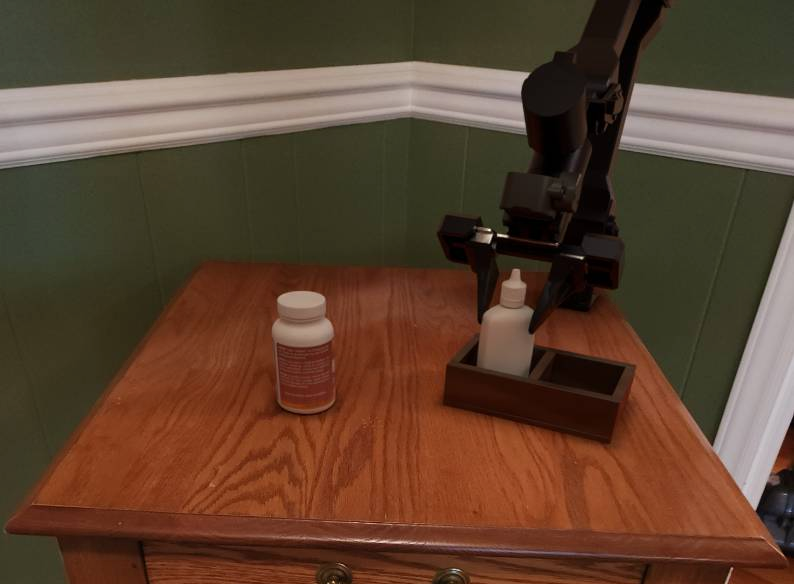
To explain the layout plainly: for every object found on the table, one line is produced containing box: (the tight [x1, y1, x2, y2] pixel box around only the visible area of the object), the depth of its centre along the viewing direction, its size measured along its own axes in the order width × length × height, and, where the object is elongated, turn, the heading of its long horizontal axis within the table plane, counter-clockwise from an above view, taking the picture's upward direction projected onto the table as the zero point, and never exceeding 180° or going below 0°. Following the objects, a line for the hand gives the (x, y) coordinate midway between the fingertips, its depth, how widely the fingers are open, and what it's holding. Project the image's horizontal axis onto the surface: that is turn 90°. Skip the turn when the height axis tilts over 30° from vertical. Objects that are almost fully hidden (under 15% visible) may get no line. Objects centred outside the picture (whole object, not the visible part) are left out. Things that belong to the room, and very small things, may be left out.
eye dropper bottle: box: [476, 268, 536, 378], centre depth 75 cm, size 4×6×12 cm
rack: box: [442, 332, 637, 444], centre depth 77 cm, size 9×18×5 cm, turn 66°
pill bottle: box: [271, 290, 336, 415], centre depth 74 cm, size 6×6×11 cm
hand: (504, 327), depth 74 cm, fingers closed on eye dropper bottle, 5 cm apart
